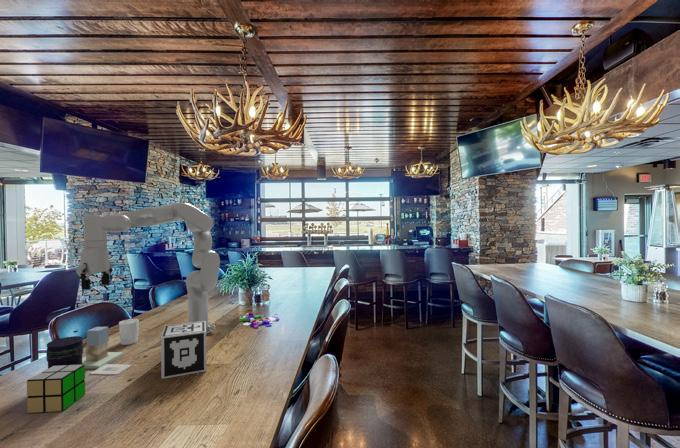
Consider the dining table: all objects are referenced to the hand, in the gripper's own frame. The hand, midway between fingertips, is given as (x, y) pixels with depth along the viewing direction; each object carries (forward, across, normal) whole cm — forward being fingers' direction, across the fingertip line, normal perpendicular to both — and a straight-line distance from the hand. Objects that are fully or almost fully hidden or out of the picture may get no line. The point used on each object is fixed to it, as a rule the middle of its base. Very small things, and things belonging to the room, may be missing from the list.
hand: (96, 287), depth 131 cm
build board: (+30, 0, 0) cm, 30 cm away
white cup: (+31, -21, -2) cm, 37 cm away
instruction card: (+30, +7, +12) cm, 33 cm away
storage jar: (+31, +18, +4) cm, 36 cm away
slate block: (+23, 0, 0) cm, 23 cm away
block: (+31, +3, +39) cm, 50 cm away
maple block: (+29, 0, 0) cm, 29 cm away
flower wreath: (+31, -56, +50) cm, 81 cm away
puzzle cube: (+31, +30, +13) cm, 45 cm away
